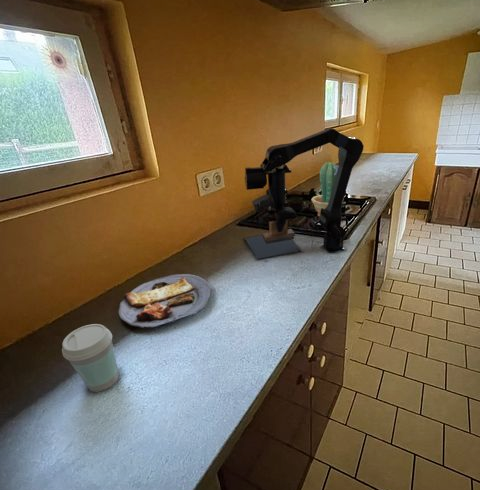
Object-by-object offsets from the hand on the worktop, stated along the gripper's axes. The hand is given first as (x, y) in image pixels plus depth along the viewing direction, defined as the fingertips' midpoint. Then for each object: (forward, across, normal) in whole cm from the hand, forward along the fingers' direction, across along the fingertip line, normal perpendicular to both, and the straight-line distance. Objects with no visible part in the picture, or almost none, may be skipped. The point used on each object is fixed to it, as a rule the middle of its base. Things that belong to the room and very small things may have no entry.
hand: (278, 230), depth 107 cm
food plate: (+10, +16, -40) cm, 44 cm away
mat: (+10, -10, 0) cm, 14 cm away
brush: (+4, 0, 0) cm, 4 cm away
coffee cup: (+10, +40, -53) cm, 67 cm away
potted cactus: (+10, -32, +36) cm, 50 cm away
